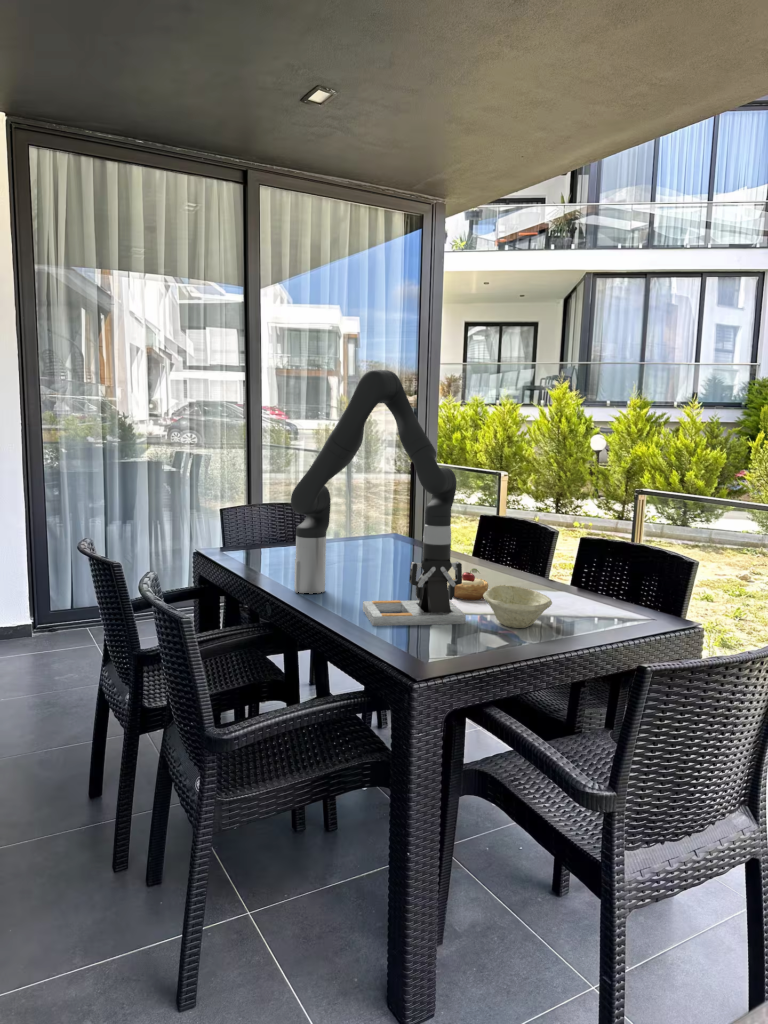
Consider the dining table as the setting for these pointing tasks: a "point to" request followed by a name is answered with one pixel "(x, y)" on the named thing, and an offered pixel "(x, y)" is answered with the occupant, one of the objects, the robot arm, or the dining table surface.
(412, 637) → the dining table surface
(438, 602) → the phone stand
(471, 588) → the pastry
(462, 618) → the white slotted tray
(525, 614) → the bowl
